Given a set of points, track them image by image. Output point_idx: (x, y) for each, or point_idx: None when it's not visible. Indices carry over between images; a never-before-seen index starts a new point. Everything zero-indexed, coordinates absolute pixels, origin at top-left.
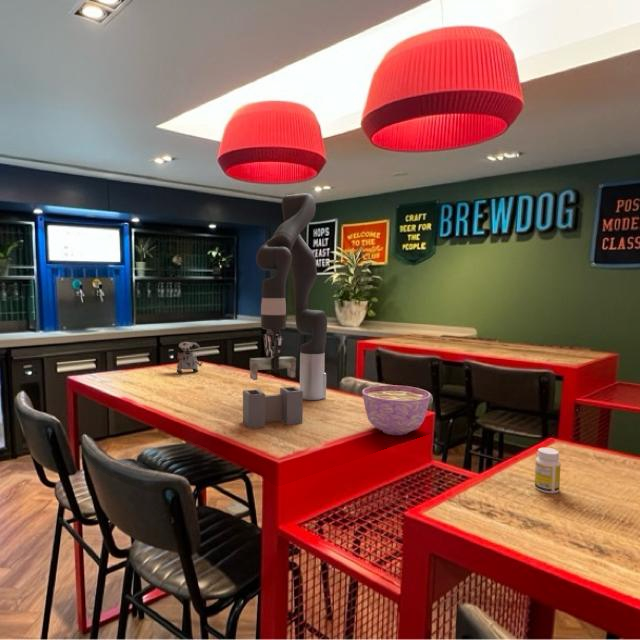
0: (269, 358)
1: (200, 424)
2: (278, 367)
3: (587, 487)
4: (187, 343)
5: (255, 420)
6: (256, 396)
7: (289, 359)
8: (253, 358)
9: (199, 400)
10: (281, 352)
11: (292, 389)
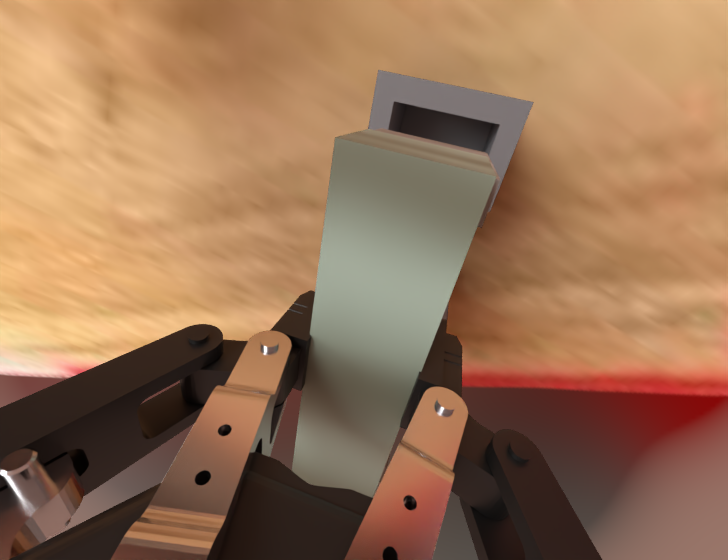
0: (357, 406)
1: None
2: (444, 330)
3: None
4: None
5: None
6: None
7: (463, 260)
8: (305, 467)
9: (108, 262)
10: (562, 508)
11: (395, 104)
